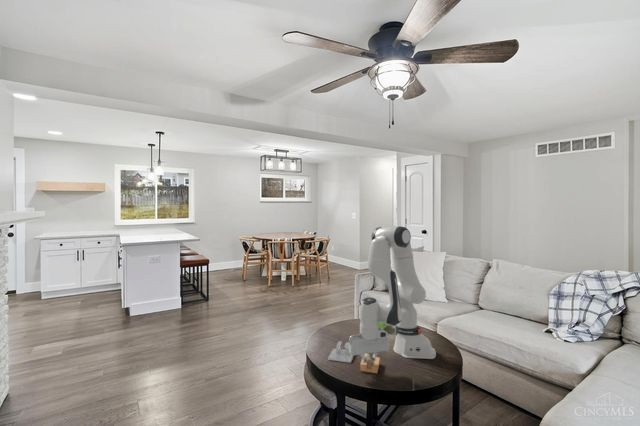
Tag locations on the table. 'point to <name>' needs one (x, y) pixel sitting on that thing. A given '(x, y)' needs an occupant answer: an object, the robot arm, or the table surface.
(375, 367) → the orange grooved block
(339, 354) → the block
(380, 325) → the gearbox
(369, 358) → the axle
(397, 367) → the table surface
